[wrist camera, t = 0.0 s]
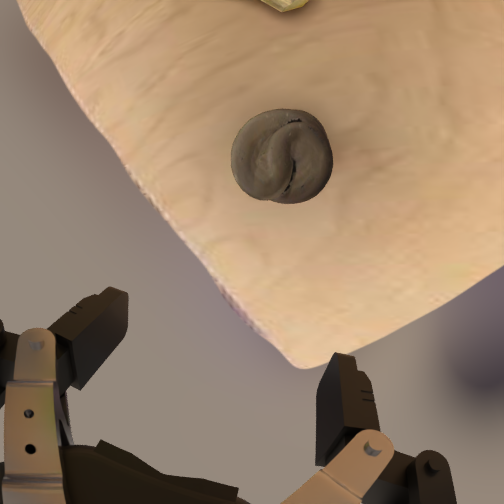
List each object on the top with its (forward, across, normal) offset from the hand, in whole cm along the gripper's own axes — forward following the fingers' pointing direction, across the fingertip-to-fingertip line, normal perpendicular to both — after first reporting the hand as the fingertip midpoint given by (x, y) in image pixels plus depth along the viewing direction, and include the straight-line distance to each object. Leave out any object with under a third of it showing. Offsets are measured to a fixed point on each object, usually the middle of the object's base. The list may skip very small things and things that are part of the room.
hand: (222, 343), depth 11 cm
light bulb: (+22, 0, -8) cm, 23 cm away
